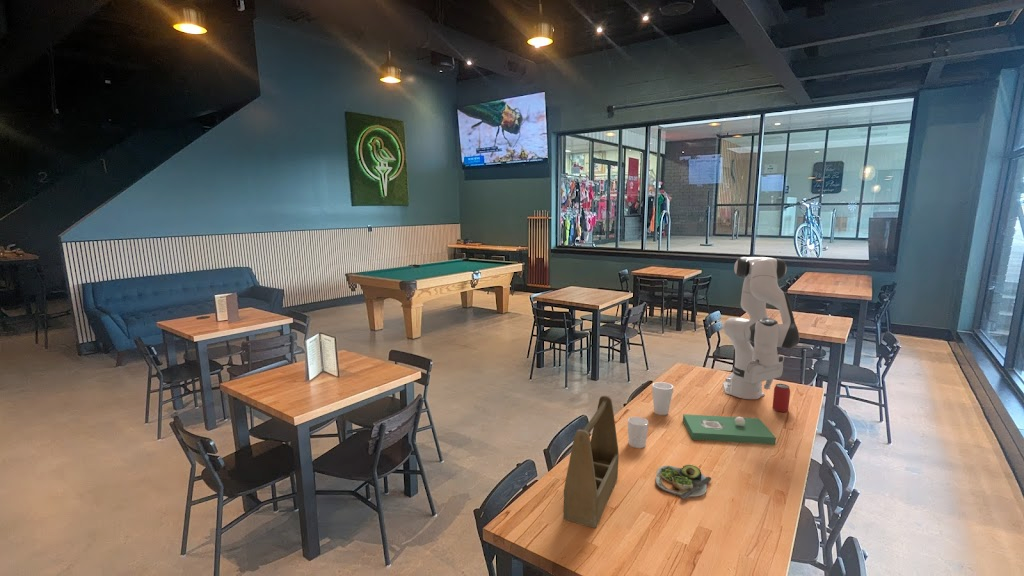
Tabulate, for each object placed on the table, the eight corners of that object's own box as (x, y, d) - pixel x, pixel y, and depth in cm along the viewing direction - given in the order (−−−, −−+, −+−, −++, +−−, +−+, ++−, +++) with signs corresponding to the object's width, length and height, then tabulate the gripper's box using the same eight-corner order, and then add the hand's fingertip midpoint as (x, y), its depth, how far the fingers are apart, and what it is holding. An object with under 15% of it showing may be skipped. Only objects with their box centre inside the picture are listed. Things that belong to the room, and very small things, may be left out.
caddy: (596, 529, 139) (599, 434, 135) (562, 519, 144) (563, 427, 139) (618, 479, 166) (621, 397, 161) (588, 472, 170) (590, 392, 165)
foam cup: (669, 408, 225) (670, 382, 223) (674, 416, 216) (675, 389, 214) (649, 407, 226) (650, 381, 224) (652, 415, 217) (654, 388, 214)
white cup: (624, 446, 189) (625, 422, 187) (629, 437, 196) (630, 415, 194) (644, 450, 185) (646, 426, 183) (649, 442, 192) (650, 419, 190)
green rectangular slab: (682, 420, 212) (683, 414, 211) (758, 424, 207) (759, 418, 207) (692, 439, 194) (692, 432, 194) (775, 444, 190) (776, 437, 189)
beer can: (787, 414, 218) (789, 389, 216) (771, 410, 222) (773, 386, 220) (789, 409, 224) (791, 385, 222) (773, 406, 227) (775, 382, 226)
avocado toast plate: (709, 509, 149) (710, 496, 148) (651, 495, 157) (651, 482, 156) (711, 478, 167) (712, 466, 166) (658, 467, 174) (659, 455, 173)
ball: (733, 423, 202) (733, 414, 201) (742, 424, 201) (743, 415, 201) (736, 427, 198) (736, 418, 197) (746, 428, 197) (747, 419, 197)
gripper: (755, 364, 186) (752, 397, 188) (787, 356, 196) (783, 388, 198) (740, 359, 192) (738, 392, 194) (772, 352, 201) (769, 383, 203)
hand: (761, 390), depth 196 cm, fingers open, 5 cm apart
